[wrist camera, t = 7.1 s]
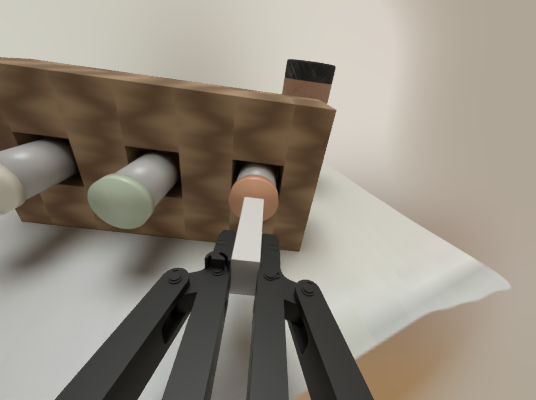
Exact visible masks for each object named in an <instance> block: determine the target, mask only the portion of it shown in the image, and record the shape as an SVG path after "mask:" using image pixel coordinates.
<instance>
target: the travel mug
mask: <svg viewBox="0 0 536 400" xmlns="http://www.w3.org/2000/svg"><path fill="white" fill-rule="evenodd" d="M334 72H335V66H333V65H329V64H324V63H318V62H311V61H303V60H293V59H289V60H288V61H287V66H286V72H285V79H284V86H283V93H282V95H289V96H296V97H304V98H311V99H318V100H321V101H322V102H324V103H325V104H327V102H328V98H329V94H330V89H331V84H332V81H333V76H334Z"/></svg>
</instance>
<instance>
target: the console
mask: <svg viewBox="0 0 536 400" xmlns="http://www.w3.org/2000/svg"><path fill="white" fill-rule="evenodd" d="M335 113H336V110H335V109H334V108H332V107H330V106H329V105H327V104H325V103H324V102H322V101H321V100H318V99H311V98H304V97H296V96H289V95H282V94H274V93H268V92H260V91H254V90H247V89H239V88H232V87H225V86H218V85H211V84H203V83H197V82H190V81H182V80H176V79H169V78H162V77H154V76H147V75H140V74H133V73H126V72H119V71H112V70H105V69H97V68H90V67H84V66H76V65H69V64H62V63H55V62H48V61H41V60H34V59H20V58H1V57H0V151H3V150H6V149H9V148H13V147H16V146H20V145H23V144H27V143H30V142H34V141H37V140H40V139H44V138H55V139H58V140H61V141H63V142H65V143H66V144H67V145H69V146H70V147H71V148H72V150H73V153H74V156H75V159H76V162H77V165H78V169H79V172H78V173H77V174H75V175H73V176H71V177H69V178H67V179H65V180H63V181H61V182H60V183H58V184H56V185H54V186H52V187H50V188H48V189H46V190H44V191H42V192H40V193H38V194H36V195H34V196H32V197H31V198H29V199H27V200H25V202H24V203H23V204H22V205H21V206H19V207H17V208H15V210H16V211H17V213H18V215H19V217H20V219H21V221H26V222H35V223H44V224H53V225H63V226H72V227H81V228H90V229H99V230H108V231H118V232H127V233H136V234H145V235H154V236H163V237H173V238H182V239H191V240H200V241H209V242H217V239H218V236H219V234H220V233H221V232H222V231H223V230H231V231H237V230H238V225H239V221H240V218H239V217H237V216H236V215H235V214H234V213H233V211H232V210H231V208H230V205H229V195H230V192H231V189H232V187H233V185H234V183H235V182H236V181H237V178H238V175H239V172H240V169H241V166H242V164H243V162H244V161H249V162H257V163H264V164H272V165H274V166H275V171H276V188H277V191H278V208H277V210H276V212H275V213H274V215H273V216H271V217H270V218H269V219H267V220H265V221H263V222H262V233H264V234H273V235H276V236H277V238H278V239H279V249H282V250H292V251H299V250H300V246H301V243H302V239H303V235H304V231H305V227H306V224H307V220H308V216H309V212H310V208H311V205H312V201H313V197H314V193H315V189H316V186H317V182H318V178H319V174H320V170H321V167H322V163H323V159H324V154H325V151H326V147H327V144H328V140H329V136H330V132H331V128H332V125H333V121H334V117H335ZM150 151H159V152H163V153H165V154H167V155H169V156H170V157H171V158H172V159H173V160H174V161H175V162H176V164H177V165H178V168H179V172H180V175H179V179H178V181H177V182H176V184H175V185H174V186H173V187H172V188H171V189H170V190H169V192H168V193H167V194H166V195H165V196H164V197H163V198H162V200H161V201H160V202H159V203H158V204H157V205H156V206H155V208H154V211H153V213H152V215H151V216H150V217H149V218H148V220H147V221H146V222H145V223H144V224H143V225H141V226H140V227H137V228H134V229H123V228H118V227H115V226H112V225H110V224H108V223H106V222H105V221H103V220H102V219H101V218H99V217H98V216H97V215H96V214H95V212H94V211H93V210H92V208H91V206H90V204H89V202H88V190H89V188H90V186H91V185H92V184H93V183H95V182H96V181H98V180H99V179H101V178H103V177H104V176H106V175H109V174H114V173H116V172H117V171H119V170H121V169H122V168H124V167H125V166H127V165H128V164H130V163H132V162H133V161H135V160H136V159H138V158H139V157H141V156H143V155H144V154H146V153H147V152H150Z"/></svg>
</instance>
